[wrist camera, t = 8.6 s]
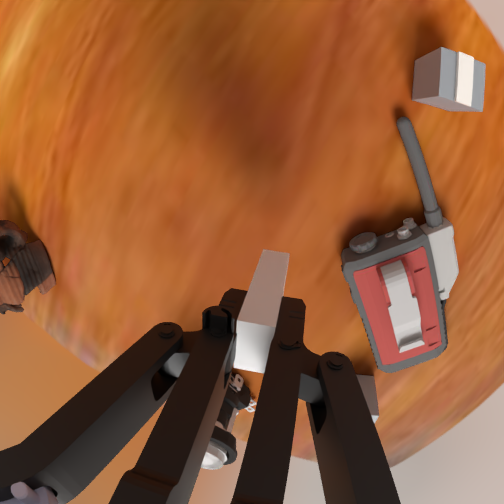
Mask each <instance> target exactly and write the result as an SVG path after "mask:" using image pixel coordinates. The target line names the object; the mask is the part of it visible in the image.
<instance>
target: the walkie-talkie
mask: <svg viewBox="0 0 504 504" xmlns="http://www.w3.org/2000/svg"><path fill="white" fill-rule="evenodd" d="M397 127H398V130H399V132H400V135H401V138H402V140H403V143H404V146H405V148H406V151H407V154H408V157H409V160H410V163H411V166H412V169H413V172H414V175H415V178H416V181H417V184H418V188H419V191H420V195H421V198H422V201H423V205H424V209H425V210H424V215H425V219H426V223H425V224H423V225H420V226H418V225H417V224H416V223H415V222H414V220H413V218H407V219H405V220H403V224H404V226H402V227H401V228H399V229H397V230H394V231H392V232H389V233H386V234H384V235H381V236H378V237H377V236H376V234H375V233H372V232H365V233H361V234H359V235H357V236H355V237H354V238H352V239H351V241H350V243H349V246H350V247H349V248H346V249H343V252H342V255H341V258H342V264H343V265H341V267H342V272H343V275H344V277H345V280H346V282H348V283H349V286H350V292H351V296H352V299H353V302H354V304H355V303H356V305H357V308H358V311H359V314H360V316H361V318H362V322H363V324H364V328H365V330H366V333H367V337H368V339H369V343H370V346H371V348H372V352H373V355H374V358H375V361H376V365H377V368H378V369H380V370H382V371H384V372H386V373H393V372H396V371H399V370H402V369H405V368H408V367H411V366H414V365H417V364H420V363H423V362H425V361H428V360H431V359H434V358H436V357H438V356H439V355H440V354H441V353H442V352H443V351H444V350H445V349H446V348H447V344H448V339H447V329H446V321H445V313H444V306H445V303H446V299H447V298H449V292H450V290H451V288H452V286H453V284H454V282H455V280H456V277H457V275H458V272H459V269H458V262H457V256H456V250H455V245H454V239H453V235H454V230H453V225H452V223H451V222H449V221H448V220H447V219H446V218H445V217H442V213H441V209H440V207H439V206H438V204H437V201H436V197H435V193H434V190H433V186H432V183H431V179H430V176H429V173H428V169H427V166H426V163H425V160H424V157H423V154H422V151H421V148H420V145H419V142H418V140H417V137H416V134H415V131H414V129H413V126H412V124H411V121H410V120H409V119H408V118H407V117H400V118H399V119H398V120H397Z"/></svg>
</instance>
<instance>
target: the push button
mask: <svg viewBox="0 0 504 504" xmlns="http://www.w3.org/2000/svg"><path fill="white" fill-rule="evenodd" d="M238 378H239V379H240V380H239V379H238ZM243 381H244V380H243V378H242V377H241V376H240V375H239V374H236V376H234V375H233V374H232V373H231V378H230V381H229V384H228V388H227V391H226V394H225V397H224V400H223V403H222V406H221V409H220V412H219V415H218V418H217V421H216V424H215V427H214V430H213V433H212V436H211V438H210V441H209V444H208V447H207V450H206V453H205V456H204V459H203V462H202V465H201V467H202V468H205V469H213V470H214V469H219V468H221V467H222V466H223V465H227V464H231V463H233V462H234V461H235V460H236V457H237V451H236V438H235V437H234V436H233V435H232V434H231V431H232V428H233V424H234V421H235V418H236V415H238V413H239V411H238V410H241V409H244V408H245V409H246V410H247V411H249V412H253V411H255V409H254V408H253V407H251V406H253V405H256V404H257V403H256V402H255V401H254V400H252V399H251V398H252V397H251V396H250V390H249V388H247V387H246V386H245V385H244V384H243ZM250 401H251V402H253V403H250ZM250 405H251V406H250ZM248 408H251V410H249V409H248Z"/></svg>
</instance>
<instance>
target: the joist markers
mask: <svg viewBox="0 0 504 504" xmlns="http://www.w3.org/2000/svg"><path fill="white" fill-rule="evenodd" d="M484 87H485V64H484V63H482V62H479V61H477V60H475V59H474V57H471V56H469V55H466V54H464V53H461V52H454V51H452V50H449V49H446V48H443V47H440V48H438V49H436V50H434V51H432V52H430V53H428V54H426V55H424V56H422V57H420V58H419V59H417V60H415V66H414V80H413V92H412V100H413V101H417V102H421V103H424V104H428V105H431V106H434V107H438V108H441V109H444V110H447V111H475V112H483V102H484ZM356 376H357V378H358V381H359V383H360V386H361V389H362V391H363V394H364V397H365V400H366V402H367V405H368V408H369V410H370V413H371V416H372V419H373V422H374V423H375V422H376V420H377V418H378V417H379V410H378V402H377V394H376V387H375V380H374V376H368V375H357V374H356Z"/></svg>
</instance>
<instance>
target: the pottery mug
mask: <svg viewBox="0 0 504 504" xmlns="http://www.w3.org/2000/svg"><path fill="white" fill-rule="evenodd" d="M4 235H5V236H4ZM27 238H28V234H27V233H26V232H25V231H23V230H20V229H19V227H18V226H17V225H16V224H15V223H13V222H11V221H8V220H0V313H2V314H5V312H6V311H7V310H10V311H14V312H23V310H24V309H23V308H22V307H21V306H22V305H21V303H22V302H23V301H24V297H25V295H27V294H28V293H30V292H31V291H32V290H33V289H34V288H35V287H36V286H37V287H38V288H39V290H40V293H41V294H45V293H47V292H48V291H49V290H50V289H51V288H52V287H53V286H55V284H56V281H55V277H54V275H53V272H52V269H51V266H50V261H49V259H48V256H47V254H46V251H45V249H44V246H43V244H42V242H41V241H40V240H37V241H35V242H31V243H27V244H26V240H27ZM5 257H7V258H9V259H10V262H9V263H8V264H7V265H6V266H4V264H3V262H2V260H3V259H4V258H5Z"/></svg>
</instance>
